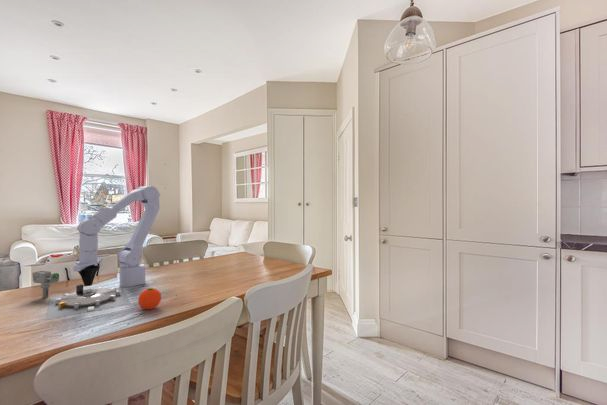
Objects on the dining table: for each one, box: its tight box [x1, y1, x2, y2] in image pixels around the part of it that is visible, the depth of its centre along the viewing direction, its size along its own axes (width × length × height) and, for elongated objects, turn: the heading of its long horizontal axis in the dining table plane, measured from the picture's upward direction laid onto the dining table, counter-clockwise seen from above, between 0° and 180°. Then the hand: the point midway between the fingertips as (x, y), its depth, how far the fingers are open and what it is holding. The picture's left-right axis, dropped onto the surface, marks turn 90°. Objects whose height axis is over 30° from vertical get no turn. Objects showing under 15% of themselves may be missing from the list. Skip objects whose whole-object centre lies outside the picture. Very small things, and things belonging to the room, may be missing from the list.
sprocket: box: [55, 283, 120, 309], centre depth 101 cm, size 18×19×4 cm
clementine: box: [138, 287, 162, 310], centre depth 96 cm, size 8×7×7 cm
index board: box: [44, 286, 131, 321], centre depth 100 cm, size 22×24×2 cm
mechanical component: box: [31, 270, 60, 298], centre depth 103 cm, size 3×10×10 cm, turn 79°
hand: (88, 285), depth 108 cm, fingers closed
